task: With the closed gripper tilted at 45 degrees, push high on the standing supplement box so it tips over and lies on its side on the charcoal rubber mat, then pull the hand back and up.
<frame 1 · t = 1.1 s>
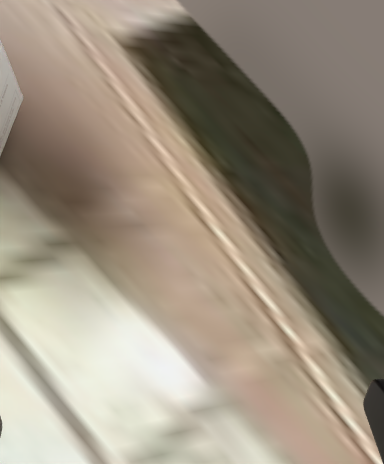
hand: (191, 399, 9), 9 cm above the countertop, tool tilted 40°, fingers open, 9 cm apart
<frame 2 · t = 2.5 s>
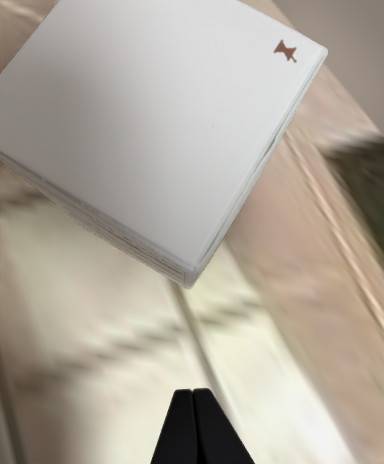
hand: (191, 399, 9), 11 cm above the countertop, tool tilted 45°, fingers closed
supplement box: (168, 210, 22), on the countertop, touching rubber mat
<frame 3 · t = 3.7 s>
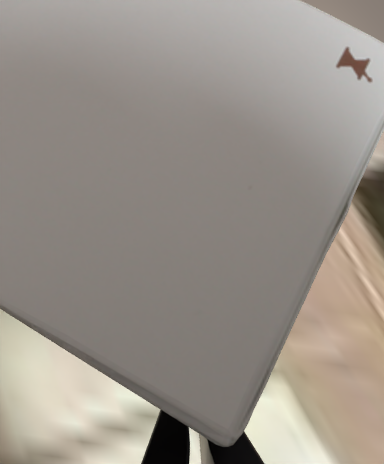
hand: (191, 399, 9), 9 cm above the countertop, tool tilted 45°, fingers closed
supplement box: (164, 252, 18), on the countertop, touching gripper
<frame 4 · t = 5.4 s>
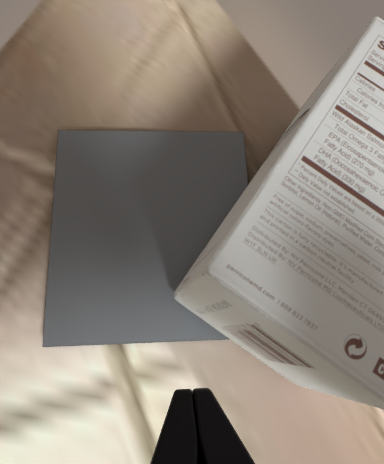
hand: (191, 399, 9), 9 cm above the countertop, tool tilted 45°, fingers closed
supplement box: (257, 348, 13), point 4 cm above the countertop, touching rubber mat
rubber mat: (154, 231, 19), on the countertop
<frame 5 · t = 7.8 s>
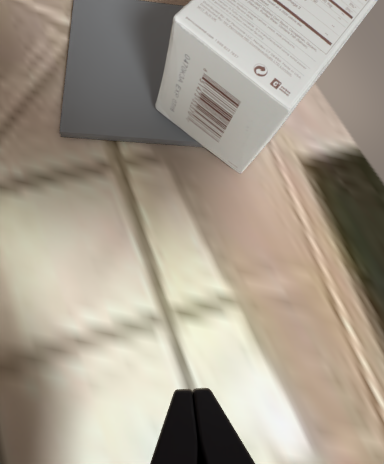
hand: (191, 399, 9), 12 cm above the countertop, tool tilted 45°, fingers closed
supplement box: (208, 110, 20), point 4 cm above the countertop, touching rubber mat
rubber mat: (143, 71, 25), on the countertop
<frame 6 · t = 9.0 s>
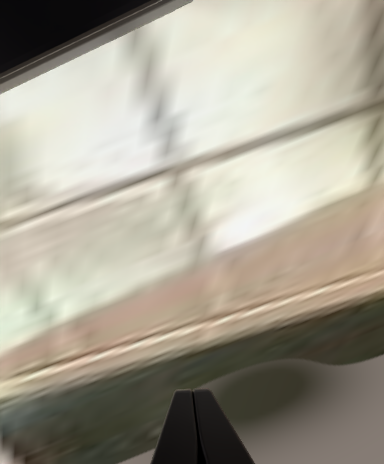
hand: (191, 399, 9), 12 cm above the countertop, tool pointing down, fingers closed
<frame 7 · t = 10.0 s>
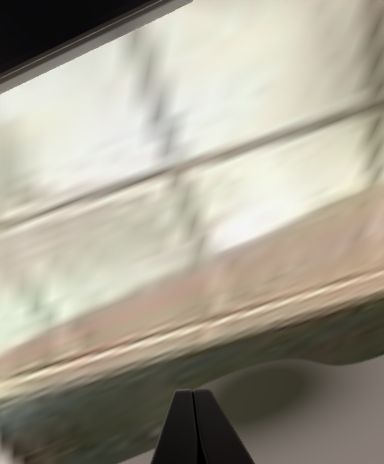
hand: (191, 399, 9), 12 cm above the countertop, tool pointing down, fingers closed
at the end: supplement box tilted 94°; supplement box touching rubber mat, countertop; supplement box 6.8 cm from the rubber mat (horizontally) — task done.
